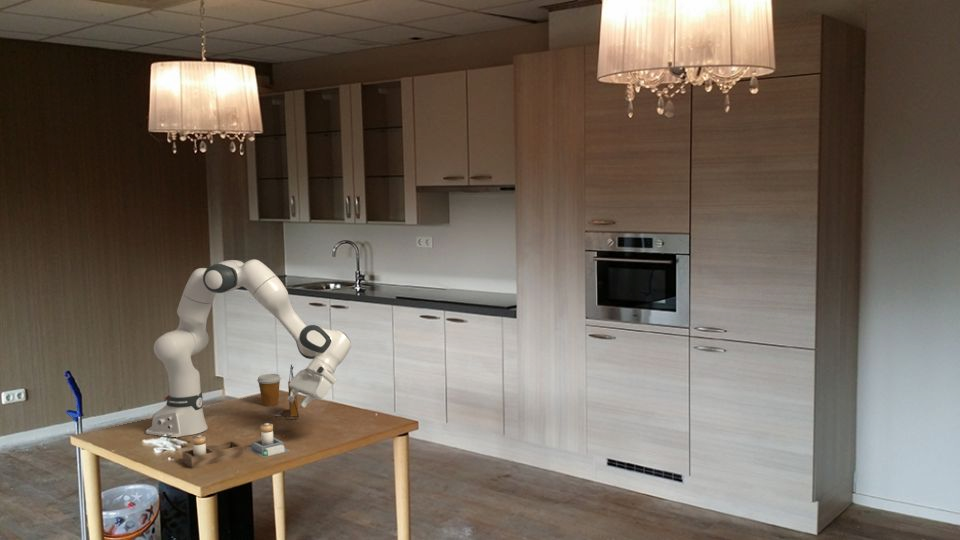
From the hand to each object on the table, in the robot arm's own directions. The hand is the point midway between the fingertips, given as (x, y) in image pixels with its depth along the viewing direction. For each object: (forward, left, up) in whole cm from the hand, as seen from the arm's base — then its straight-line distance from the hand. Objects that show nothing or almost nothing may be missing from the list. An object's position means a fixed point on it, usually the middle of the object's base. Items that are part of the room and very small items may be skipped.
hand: (295, 403), depth 296 cm
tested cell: (-6, -9, -14) cm, 18 cm away
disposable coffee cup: (-38, +48, -15) cm, 63 cm away
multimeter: (-23, +33, -15) cm, 43 cm away
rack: (-19, -22, -15) cm, 33 cm away
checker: (-6, -9, -15) cm, 19 cm away
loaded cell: (-22, -26, -14) cm, 37 cm away
